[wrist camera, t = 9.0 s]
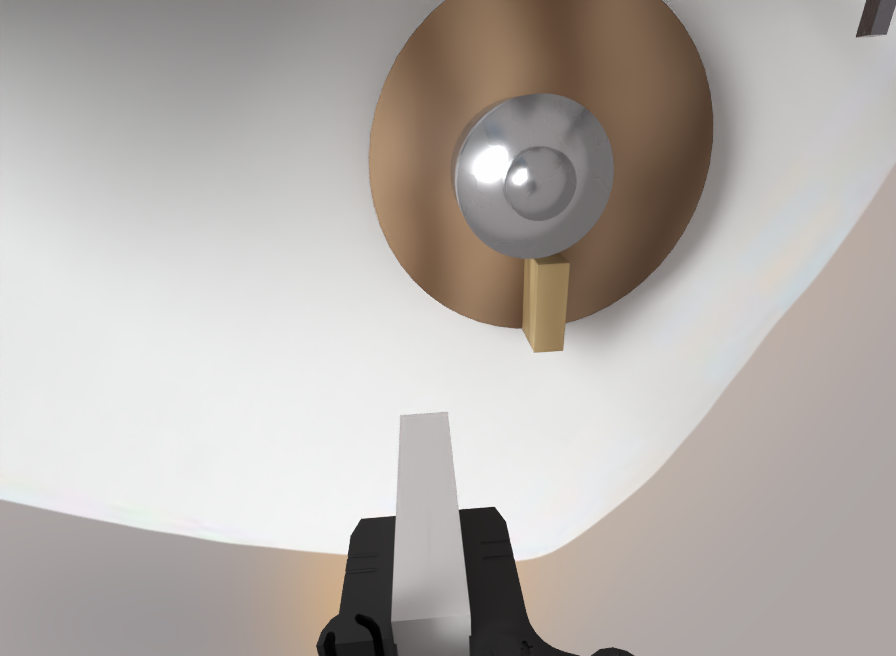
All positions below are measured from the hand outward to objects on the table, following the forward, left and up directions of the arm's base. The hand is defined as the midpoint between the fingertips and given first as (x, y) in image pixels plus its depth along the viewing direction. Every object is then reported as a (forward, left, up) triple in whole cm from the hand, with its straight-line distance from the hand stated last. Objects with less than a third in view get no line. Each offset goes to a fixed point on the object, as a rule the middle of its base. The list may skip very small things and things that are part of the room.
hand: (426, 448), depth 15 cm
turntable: (+7, +7, -15) cm, 18 cm away
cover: (+5, +7, -13) cm, 16 cm away
